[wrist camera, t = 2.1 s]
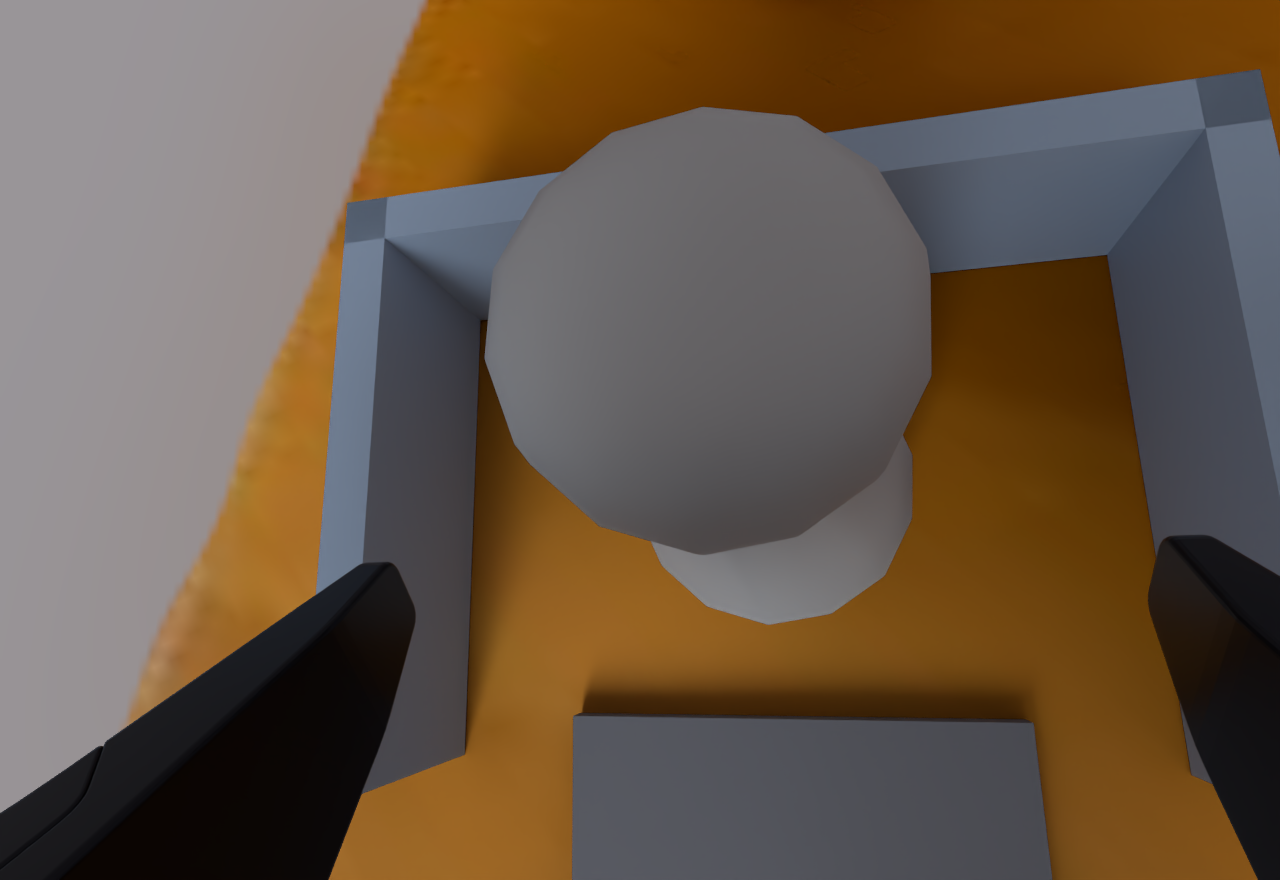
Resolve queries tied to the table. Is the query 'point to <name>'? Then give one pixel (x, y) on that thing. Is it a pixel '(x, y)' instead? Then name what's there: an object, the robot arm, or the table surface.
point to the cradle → (955, 240)
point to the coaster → (806, 798)
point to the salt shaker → (722, 354)
